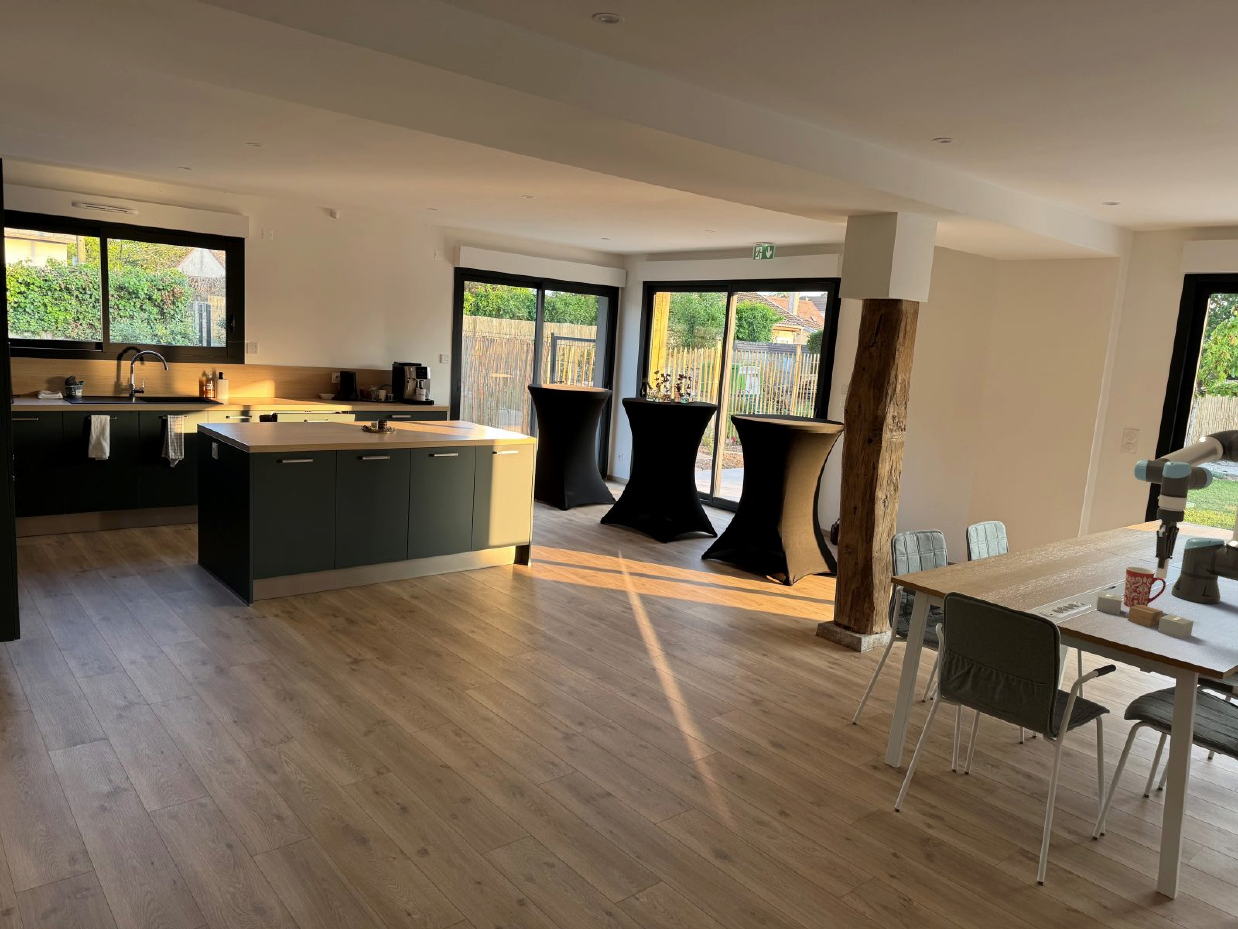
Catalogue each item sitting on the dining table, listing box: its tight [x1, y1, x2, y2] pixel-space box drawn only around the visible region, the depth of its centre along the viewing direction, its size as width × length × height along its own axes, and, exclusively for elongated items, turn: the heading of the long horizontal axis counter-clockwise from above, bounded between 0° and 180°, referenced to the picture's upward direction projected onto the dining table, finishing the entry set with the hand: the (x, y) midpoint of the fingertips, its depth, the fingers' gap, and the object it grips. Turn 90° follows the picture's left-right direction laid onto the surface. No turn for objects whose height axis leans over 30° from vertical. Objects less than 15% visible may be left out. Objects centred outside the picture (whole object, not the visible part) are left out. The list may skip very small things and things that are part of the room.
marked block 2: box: [1157, 614, 1194, 640], centre depth 268 cm, size 7×7×5 cm
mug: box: [1123, 566, 1167, 608], centre depth 295 cm, size 13×9×14 cm
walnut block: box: [1127, 605, 1164, 628], centre depth 278 cm, size 7×7×5 cm
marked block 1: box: [1095, 591, 1123, 615], centre depth 290 cm, size 7×7×5 cm
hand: (1160, 577), depth 277 cm, fingers closed
